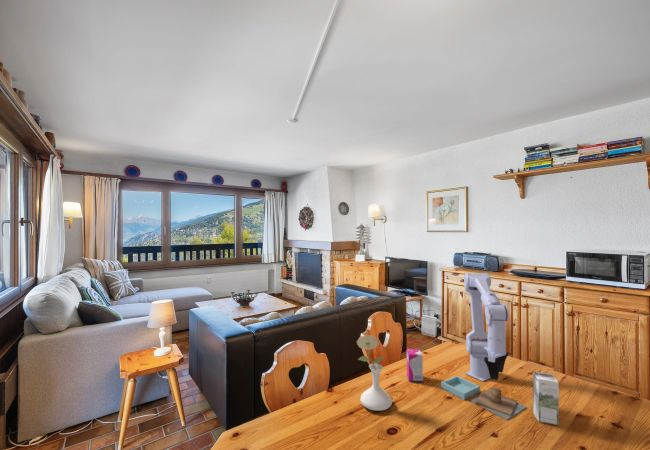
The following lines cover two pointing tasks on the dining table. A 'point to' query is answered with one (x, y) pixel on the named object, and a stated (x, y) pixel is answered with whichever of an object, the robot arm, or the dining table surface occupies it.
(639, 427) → the dining table surface
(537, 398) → the syrup box
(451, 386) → the dish
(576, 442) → the dining table surface
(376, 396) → the flower in vase
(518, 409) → the mat
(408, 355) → the supplement box
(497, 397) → the lid
